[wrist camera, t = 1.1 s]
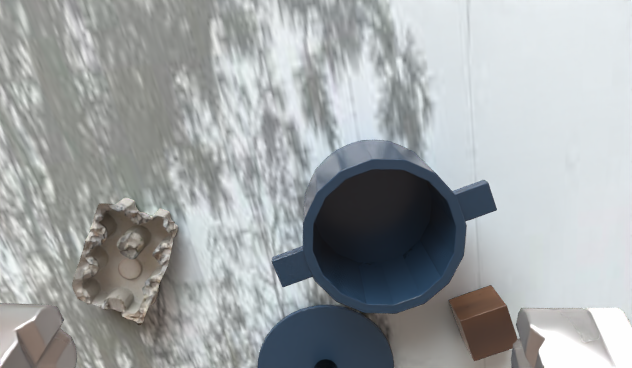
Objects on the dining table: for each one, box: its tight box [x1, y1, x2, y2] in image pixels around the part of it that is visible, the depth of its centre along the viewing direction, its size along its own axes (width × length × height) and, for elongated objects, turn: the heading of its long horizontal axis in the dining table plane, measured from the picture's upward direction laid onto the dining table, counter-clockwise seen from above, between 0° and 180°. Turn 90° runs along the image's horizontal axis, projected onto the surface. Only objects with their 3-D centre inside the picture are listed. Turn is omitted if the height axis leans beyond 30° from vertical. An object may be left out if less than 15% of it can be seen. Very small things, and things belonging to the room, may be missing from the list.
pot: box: [272, 140, 497, 314], centre depth 47 cm, size 13×18×10 cm
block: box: [449, 285, 518, 361], centre depth 52 cm, size 4×4×4 cm
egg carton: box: [72, 198, 178, 325], centre depth 50 cm, size 11×8×4 cm
